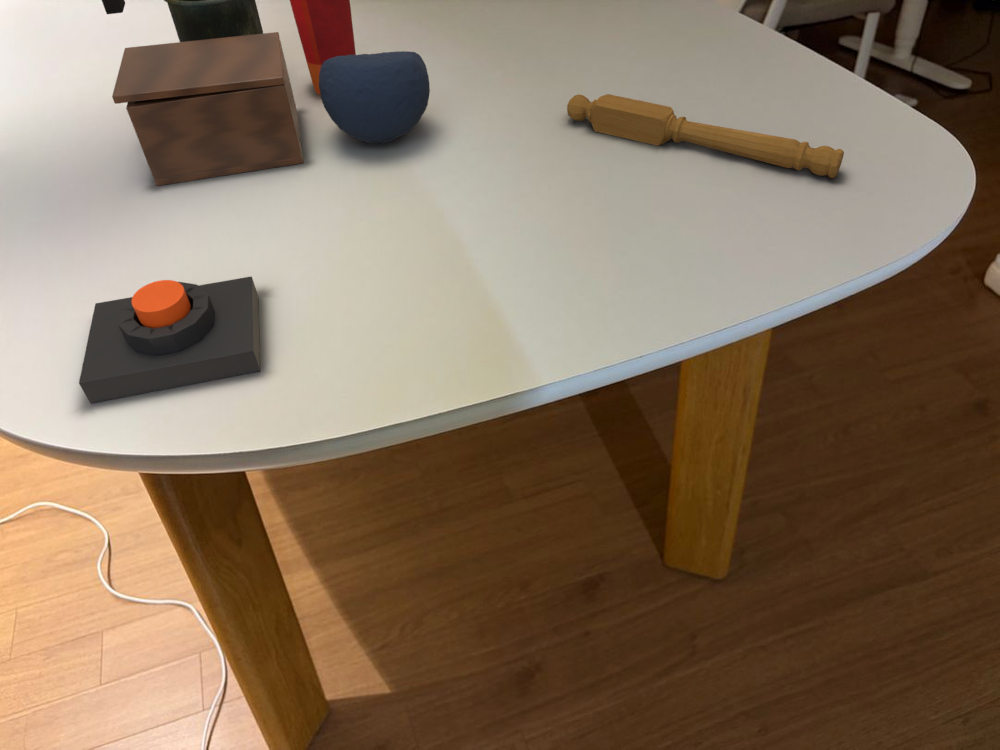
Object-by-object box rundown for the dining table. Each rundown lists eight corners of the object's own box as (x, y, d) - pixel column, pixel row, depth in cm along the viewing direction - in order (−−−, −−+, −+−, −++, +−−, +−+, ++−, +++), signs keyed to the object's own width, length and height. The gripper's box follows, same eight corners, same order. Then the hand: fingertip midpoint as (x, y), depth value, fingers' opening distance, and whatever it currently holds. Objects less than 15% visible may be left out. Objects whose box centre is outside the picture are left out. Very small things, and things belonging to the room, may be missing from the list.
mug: (203, 111, 98) (171, 9, 90) (178, 70, 107) (146, -26, 99) (289, 89, 101) (265, -11, 93) (256, 51, 111) (232, -43, 102)
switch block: (90, 403, 62) (68, 365, 59) (105, 323, 69) (86, 286, 66) (260, 371, 64) (247, 333, 61) (258, 296, 71) (246, 258, 68)
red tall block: (375, 75, 103) (357, -42, 93) (354, 102, 98) (332, -19, 88) (319, 72, 105) (295, -44, 95) (295, 98, 99) (267, -21, 89)
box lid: (114, 104, 79) (111, 96, 78) (127, 54, 88) (124, 47, 87) (284, 84, 81) (283, 77, 81) (279, 38, 90) (278, 31, 90)
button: (137, 332, 62) (128, 315, 61) (141, 301, 65) (133, 284, 64) (189, 323, 63) (182, 306, 61) (191, 293, 65) (185, 275, 64)
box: (156, 186, 85) (126, 107, 79) (164, 132, 94) (137, 58, 88) (303, 163, 87) (284, 85, 81) (297, 113, 96) (280, 39, 90)
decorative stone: (449, 147, 89) (441, 57, 82) (345, 172, 86) (327, 81, 79) (416, 104, 96) (406, 19, 90) (319, 126, 94) (301, 40, 87)
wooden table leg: (839, 157, 77) (562, 98, 89) (831, 185, 80) (562, 124, 91) (847, 143, 79) (575, 87, 91) (839, 171, 81) (574, 112, 93)
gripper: (-99, -295, 59) (39, 30, 75) (86, -306, 61) (182, 14, 77) (-72, -303, 64) (52, 3, 81) (98, -313, 66) (185, -12, 82)
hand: (116, 8), depth 79 cm, fingers closed
